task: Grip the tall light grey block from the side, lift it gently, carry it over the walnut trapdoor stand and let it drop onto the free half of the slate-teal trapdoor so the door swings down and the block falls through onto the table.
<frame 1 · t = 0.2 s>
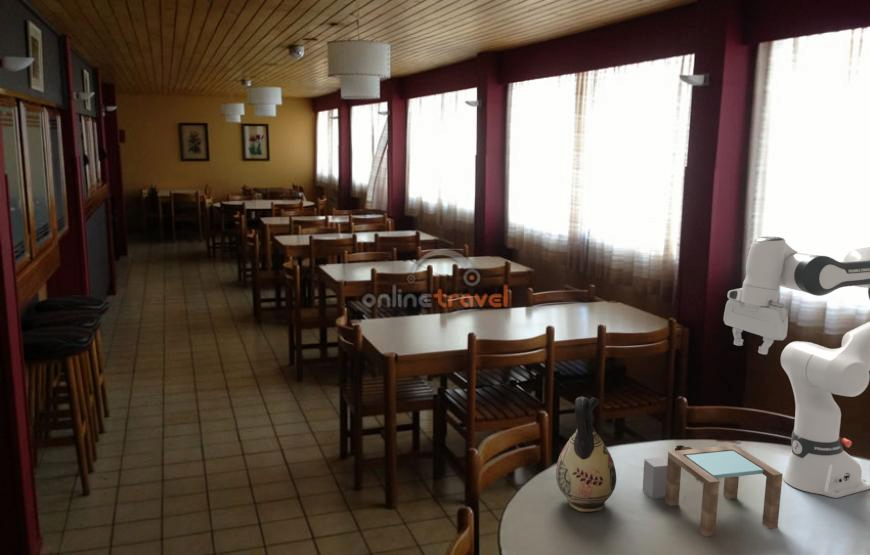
hand: (749, 349, 193), 40 cm above the table, tool pointing down, fingers open, 8 cm apart
light grey block: (655, 493, 198), on the table
trapdoor frame: (719, 513, 187), on the table
ceramic jug: (583, 505, 191), on the table
bolt: (691, 466, 216), on the table
trapdoor: (723, 464, 185), point 14 cm above the table, hinge at 0.0°
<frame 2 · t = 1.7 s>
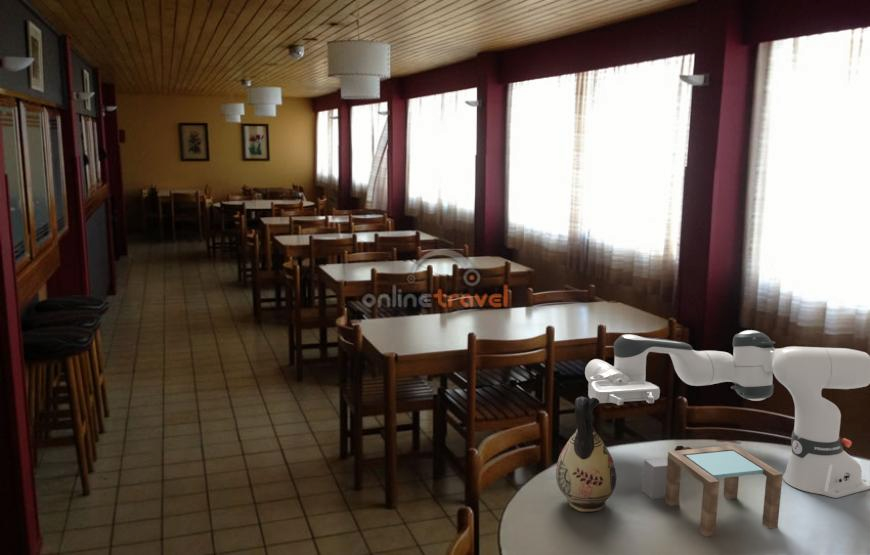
hand: (636, 401, 208), 21 cm above the table, tool horizontal, fingers open, 8 cm apart
nothing on the table moved.
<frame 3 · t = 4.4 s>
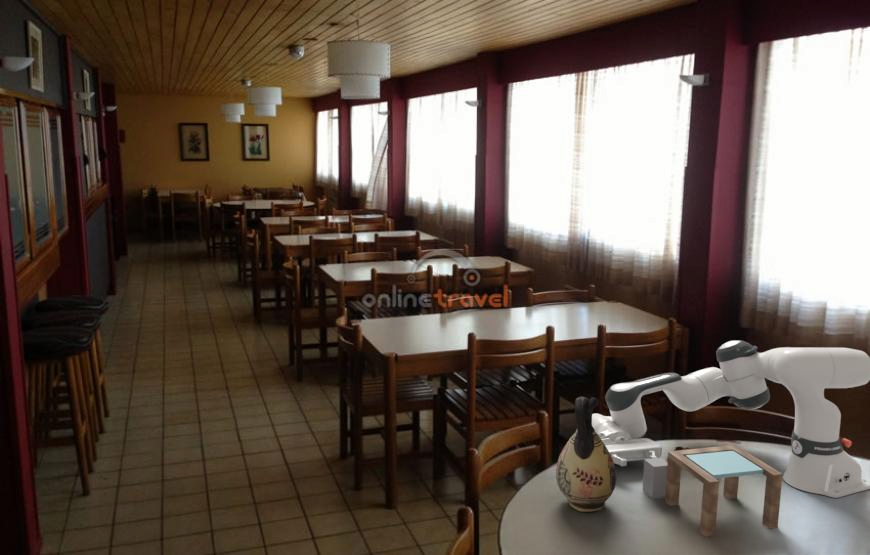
hand: (639, 462, 205), 5 cm above the table, tool horizontal, fingers open, 8 cm apart
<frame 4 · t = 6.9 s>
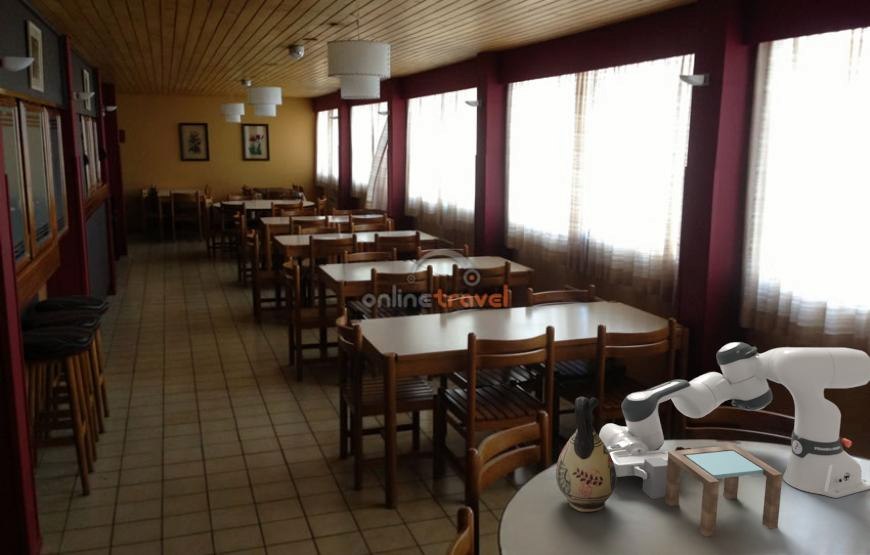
hand: (658, 475, 197), 6 cm above the table, tool horizontal, fingers closed on light grey block, 5 cm apart
light grey block: (655, 493, 198), on the table, touching gripper
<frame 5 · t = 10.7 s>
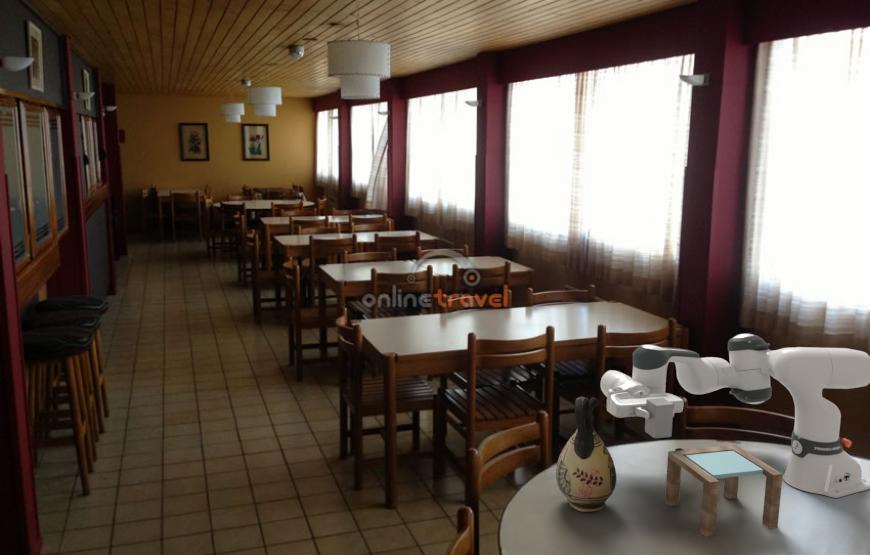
hand: (660, 415, 194), 23 cm above the table, tool horizontal, fingers closed on light grey block, 5 cm apart
light grey block: (657, 434, 195), point 17 cm above the table, touching gripper
when the fingers open (22 cm above the table, at t = 14.5 s): light grey block drops 8 cm and tips over, point 9 cm above the table.
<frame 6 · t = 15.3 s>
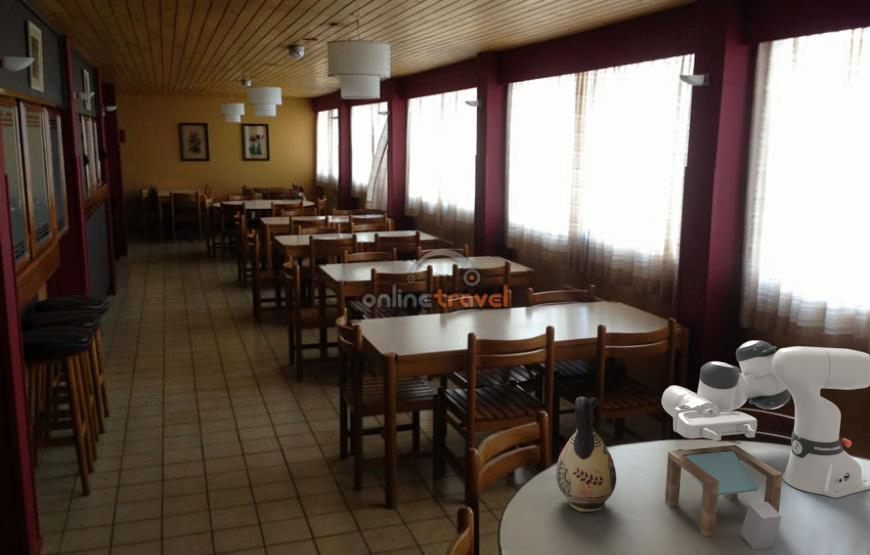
hand: (735, 436, 180), 22 cm above the table, tool horizontal, fingers open, 8 cm apart
light grey block: (765, 510, 170), point 9 cm above the table, tilted 167°
trapdoor: (720, 473, 186), point 11 cm above the table, hinge at -26.8°
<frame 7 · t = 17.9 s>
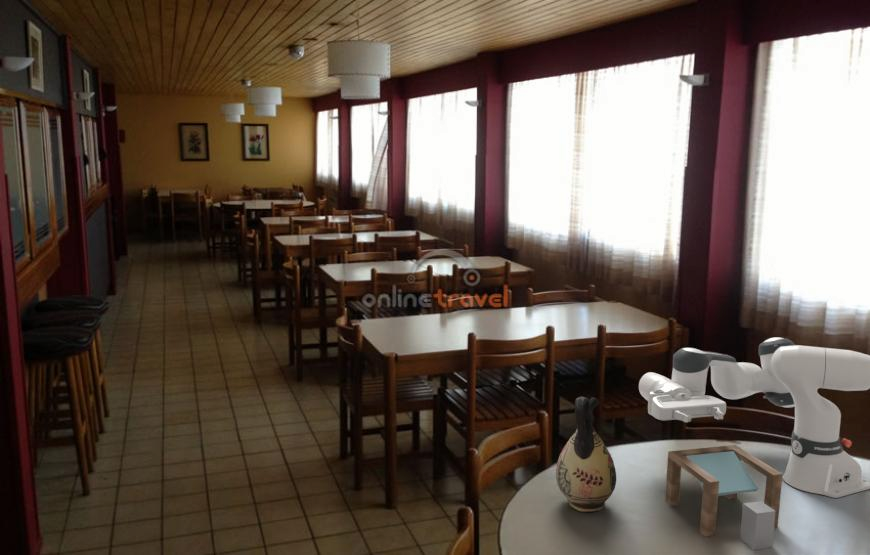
hand: (705, 418, 192), 22 cm above the table, tool horizontal, fingers open, 8 cm apart
light grey block: (759, 507, 172), point 9 cm above the table, tilted 180°
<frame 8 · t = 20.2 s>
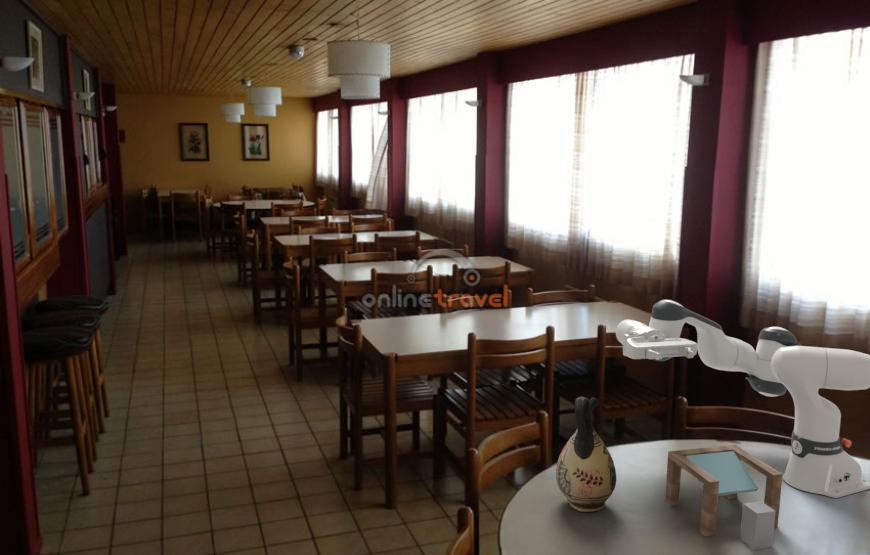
hand: (675, 356, 201), 36 cm above the table, tool horizontal, fingers open, 8 cm apart
at the end: light grey block inside the target area on the trapdoor frame (8.7 cm from its centre), point 8.9 cm above the trapdoor frame's base; light grey block touching table; trapdoor at -27° (first picture: +0°) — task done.
